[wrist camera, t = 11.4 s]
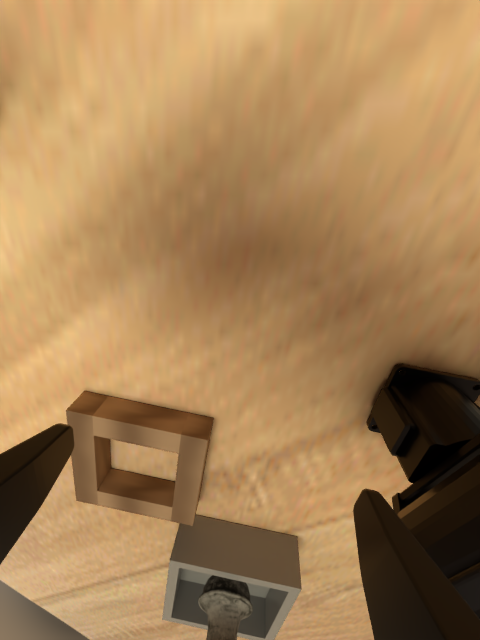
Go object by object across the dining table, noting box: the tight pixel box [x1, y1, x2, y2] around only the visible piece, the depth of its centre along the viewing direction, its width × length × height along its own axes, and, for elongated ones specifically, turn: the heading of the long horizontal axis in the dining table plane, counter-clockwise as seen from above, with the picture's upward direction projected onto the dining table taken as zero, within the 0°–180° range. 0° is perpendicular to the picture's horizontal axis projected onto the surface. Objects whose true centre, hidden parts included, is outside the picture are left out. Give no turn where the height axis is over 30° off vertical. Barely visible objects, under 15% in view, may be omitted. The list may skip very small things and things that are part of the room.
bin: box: [162, 515, 301, 640], centre depth 31 cm, size 13×13×4 cm
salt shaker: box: [198, 575, 253, 640], centre depth 27 cm, size 6×6×12 cm
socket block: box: [66, 391, 213, 526], centre depth 26 cm, size 12×12×2 cm
